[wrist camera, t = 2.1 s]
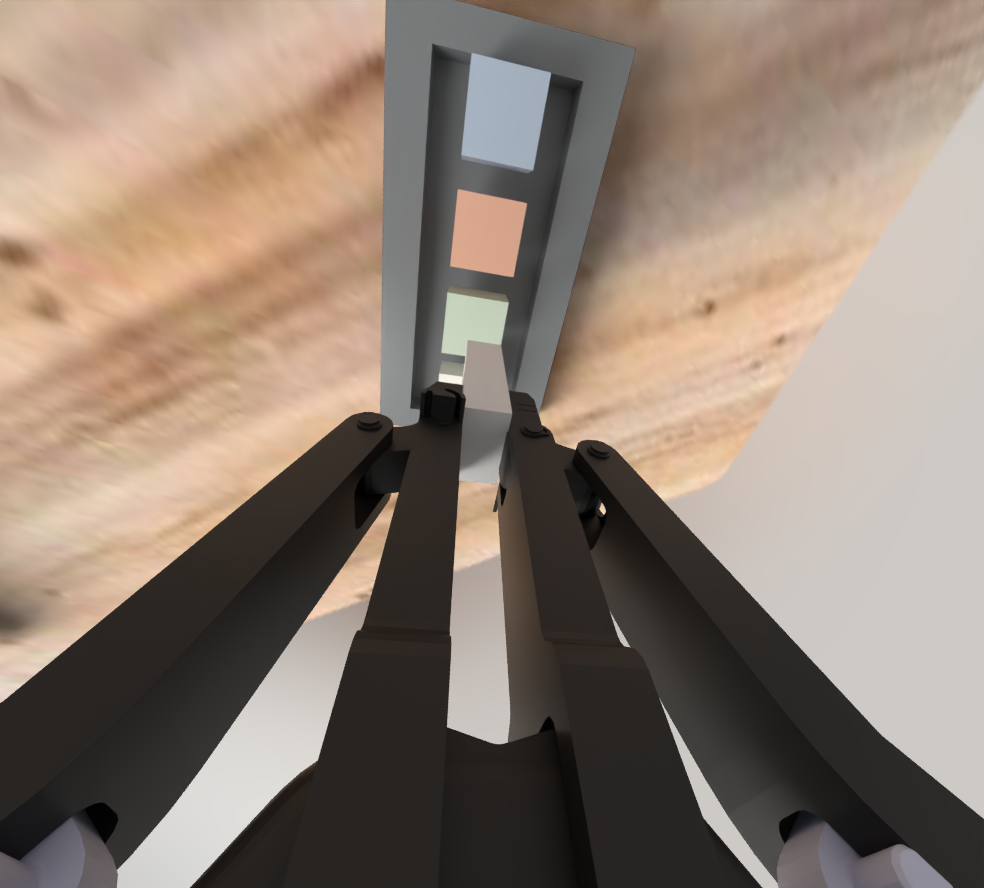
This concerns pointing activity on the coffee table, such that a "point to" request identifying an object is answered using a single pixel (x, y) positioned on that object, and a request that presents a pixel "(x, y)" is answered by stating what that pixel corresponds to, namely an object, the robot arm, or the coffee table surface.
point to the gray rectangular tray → (484, 186)
